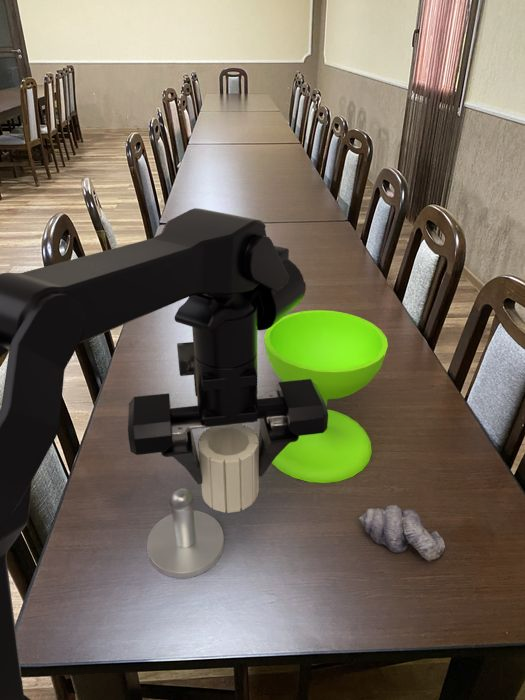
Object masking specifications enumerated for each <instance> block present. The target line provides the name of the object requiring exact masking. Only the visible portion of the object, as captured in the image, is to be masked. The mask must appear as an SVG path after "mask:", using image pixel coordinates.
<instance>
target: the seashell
mask: <svg viewBox="0 0 525 700" xmlns="http://www.w3.org/2000/svg"><path fill="white" fill-rule="evenodd" d="M359 522H360V523H361V526H362V527H363V528H364V529H365V532H366V534H368V535H370V537H371V539H372V540H373V542H375V543H376V544H377V545H384V546H386V548H387V549H388V550H389V551H390V552H392V553H394V554H399V553H403V552H405V551H407V550H408V547H409V545H411V547H413V549H415V550H416V551H417V552H418V554H420V556H421V557H422V558H423V559H424V560H426V561H427V562H432V561H433V560H436V559H438V558H440V556H441V555H442V554H444V550H445V548H446V545H445V541H444V538H443V537H442V536H441V535H439V532H438V530H434V531H432V532H431V533H430V532H429V531H428V530H427V529H426V528H425V526H424V525H423V522H422V519H421V518H420V515H419V514H418V513H417V512H416V511H415V510H413V509H405V510H402V508H400V507H399V506H398V505H397V504H390V505H387V506H385V508H379V507H376V508H374V507H373V508H372V507H370V508H367V509H366V510H365V513H363V515H361V516H360V517H359Z"/></svg>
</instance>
